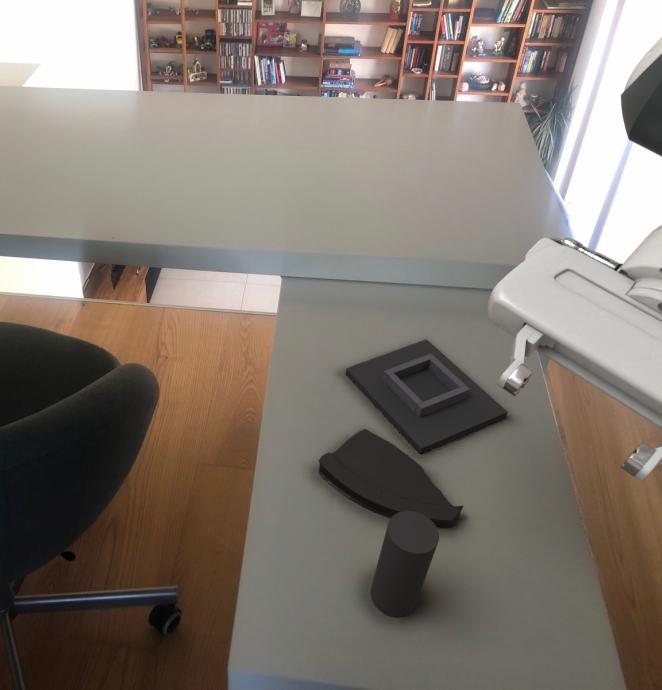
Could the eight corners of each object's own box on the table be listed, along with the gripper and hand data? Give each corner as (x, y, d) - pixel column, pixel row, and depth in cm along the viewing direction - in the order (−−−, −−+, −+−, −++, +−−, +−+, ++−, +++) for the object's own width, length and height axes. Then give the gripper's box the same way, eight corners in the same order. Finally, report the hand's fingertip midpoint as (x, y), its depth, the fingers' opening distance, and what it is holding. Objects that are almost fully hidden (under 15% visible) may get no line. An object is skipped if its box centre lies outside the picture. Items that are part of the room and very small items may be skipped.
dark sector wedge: (421, 557, 65) (424, 547, 64) (313, 471, 73) (314, 461, 72) (472, 508, 69) (476, 498, 68) (364, 431, 77) (366, 421, 76)
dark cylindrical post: (425, 602, 61) (450, 537, 55) (392, 625, 60) (413, 562, 53) (393, 568, 64) (413, 502, 57) (361, 589, 62) (377, 525, 56)
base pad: (505, 417, 78) (511, 402, 76) (419, 454, 74) (424, 439, 72) (424, 344, 87) (428, 329, 86) (345, 374, 84) (347, 358, 82)
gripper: (559, 202, 53) (445, 322, 50) (858, 354, 44) (739, 513, 41) (541, 251, 59) (437, 362, 56) (804, 395, 49) (695, 539, 46)
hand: (567, 427), depth 48 cm, fingers open, 8 cm apart
